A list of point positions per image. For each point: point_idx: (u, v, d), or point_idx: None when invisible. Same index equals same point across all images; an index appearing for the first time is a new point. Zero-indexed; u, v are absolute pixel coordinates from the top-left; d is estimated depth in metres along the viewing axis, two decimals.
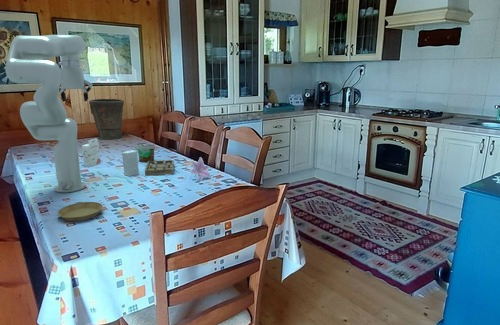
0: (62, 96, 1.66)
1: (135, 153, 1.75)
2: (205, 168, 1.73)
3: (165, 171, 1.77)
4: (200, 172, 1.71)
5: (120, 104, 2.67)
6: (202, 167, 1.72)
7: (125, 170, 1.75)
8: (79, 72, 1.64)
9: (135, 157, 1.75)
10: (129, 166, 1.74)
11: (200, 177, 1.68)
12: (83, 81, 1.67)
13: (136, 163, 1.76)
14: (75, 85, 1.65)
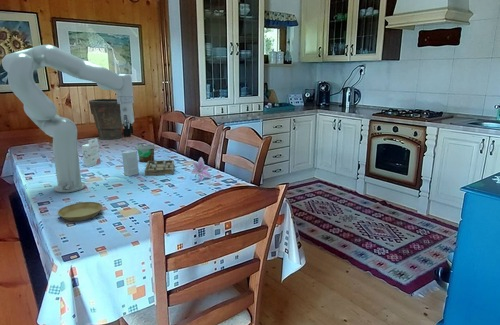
0: (130, 131, 1.68)
1: (135, 153, 1.75)
2: (205, 168, 1.73)
3: (165, 171, 1.77)
4: (200, 172, 1.71)
5: None
6: (202, 167, 1.72)
7: (125, 170, 1.75)
8: None
9: (135, 157, 1.75)
10: (129, 166, 1.74)
11: (201, 177, 1.68)
12: None
13: (136, 163, 1.76)
14: (133, 119, 1.73)
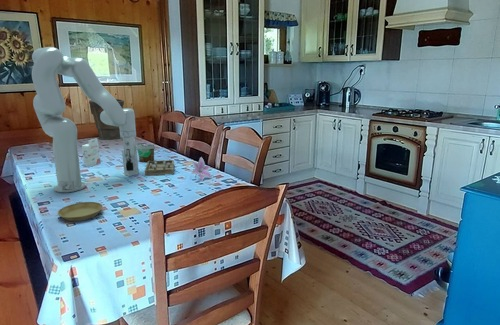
0: None
1: None
2: (205, 168, 1.73)
3: (165, 171, 1.77)
4: (201, 172, 1.71)
5: (120, 104, 2.67)
6: (203, 167, 1.72)
7: (125, 170, 1.75)
8: None
9: (135, 157, 1.75)
10: None
11: (201, 177, 1.68)
12: None
13: (136, 163, 1.76)
14: None
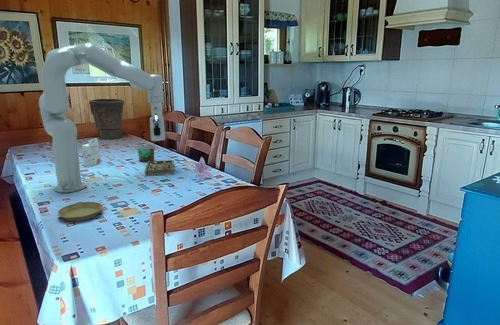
0: None
1: (162, 119, 1.79)
2: (206, 168, 1.73)
3: (165, 171, 1.77)
4: (201, 172, 1.71)
5: (120, 104, 2.67)
6: (203, 167, 1.72)
7: (152, 135, 1.79)
8: None
9: (162, 123, 1.80)
10: None
11: (202, 177, 1.68)
12: None
13: (163, 129, 1.81)
14: None
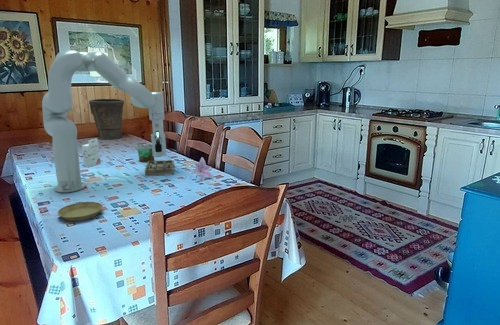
0: (161, 147, 1.79)
1: None
2: (206, 168, 1.73)
3: (165, 171, 1.77)
4: (202, 172, 1.71)
5: (120, 104, 2.67)
6: (204, 167, 1.72)
7: (154, 152, 1.82)
8: None
9: (163, 139, 1.82)
10: None
11: (202, 177, 1.68)
12: None
13: (164, 145, 1.83)
14: None
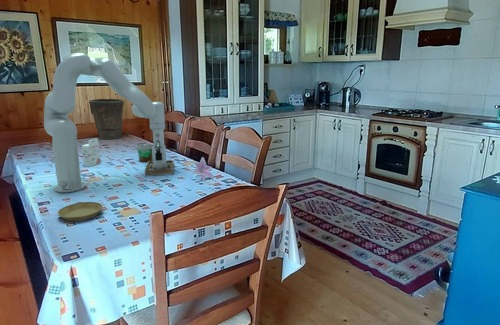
0: (161, 155, 1.79)
1: (164, 147, 1.83)
2: (207, 168, 1.73)
3: (165, 171, 1.77)
4: (202, 172, 1.71)
5: (120, 104, 2.67)
6: (204, 167, 1.72)
7: (154, 163, 1.83)
8: None
9: (164, 151, 1.83)
10: None
11: (203, 177, 1.68)
12: None
13: (164, 157, 1.84)
14: None
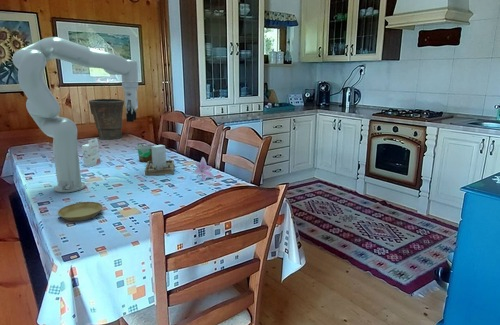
0: (133, 116, 1.70)
1: (163, 147, 1.83)
2: (207, 168, 1.73)
3: (165, 171, 1.77)
4: (203, 172, 1.71)
5: (120, 104, 2.67)
6: (205, 167, 1.72)
7: (154, 163, 1.83)
8: None
9: (163, 151, 1.83)
10: (158, 159, 1.82)
11: (203, 177, 1.68)
12: None
13: (164, 157, 1.84)
14: (137, 105, 1.75)
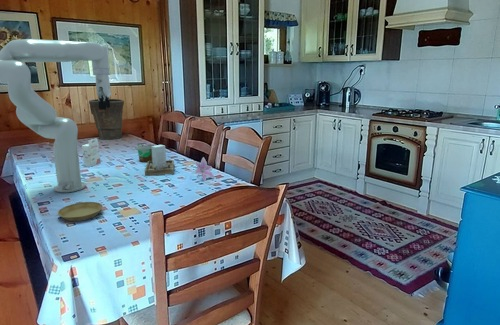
0: (106, 104, 1.64)
1: (163, 147, 1.83)
2: (208, 168, 1.73)
3: (165, 171, 1.77)
4: (203, 172, 1.71)
5: (120, 104, 2.67)
6: (205, 167, 1.72)
7: (154, 163, 1.83)
8: None
9: (163, 151, 1.83)
10: (158, 159, 1.82)
11: (204, 177, 1.68)
12: None
13: (164, 157, 1.84)
14: (110, 93, 1.69)
